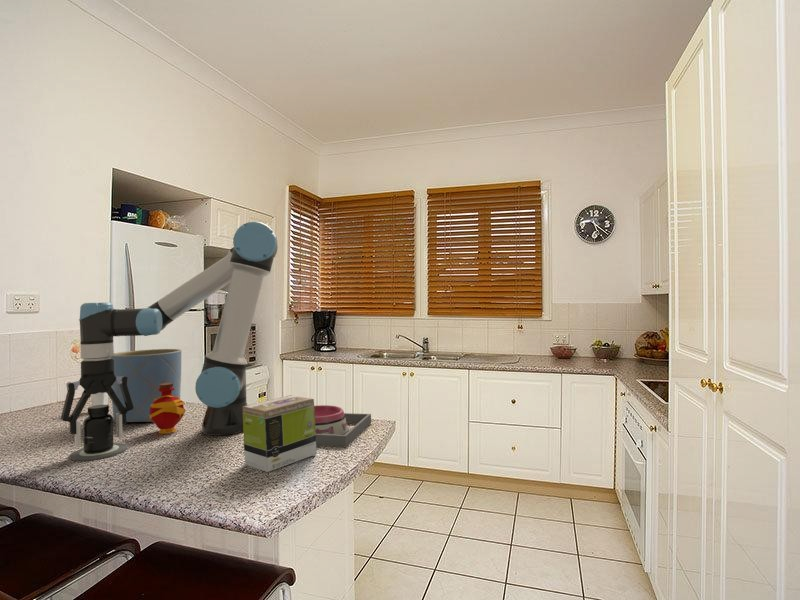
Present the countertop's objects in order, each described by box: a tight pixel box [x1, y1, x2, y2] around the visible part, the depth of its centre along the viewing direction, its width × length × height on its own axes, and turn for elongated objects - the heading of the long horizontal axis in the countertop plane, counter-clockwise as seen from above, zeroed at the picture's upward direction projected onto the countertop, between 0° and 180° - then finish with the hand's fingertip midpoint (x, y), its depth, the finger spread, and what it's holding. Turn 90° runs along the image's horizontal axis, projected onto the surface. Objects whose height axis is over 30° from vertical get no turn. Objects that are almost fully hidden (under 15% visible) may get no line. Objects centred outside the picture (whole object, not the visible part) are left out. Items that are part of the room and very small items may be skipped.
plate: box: [69, 442, 128, 462], centre depth 122 cm, size 13×13×1 cm
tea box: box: [243, 394, 318, 473], centre depth 112 cm, size 15×10×15 cm, turn 141°
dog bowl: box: [314, 404, 350, 435], centre depth 136 cm, size 18×19×7 cm
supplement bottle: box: [82, 404, 114, 454], centre depth 122 cm, size 7×7×12 cm
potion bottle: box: [149, 383, 186, 435], centre depth 142 cm, size 10×10×15 cm
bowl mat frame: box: [316, 412, 372, 448], centre depth 136 cm, size 24×24×3 cm
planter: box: [111, 348, 182, 424], centre depth 161 cm, size 23×23×24 cm
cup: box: [90, 392, 109, 406], centre depth 173 cm, size 7×7×11 cm
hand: (99, 441), depth 122 cm, fingers open, 9 cm apart
